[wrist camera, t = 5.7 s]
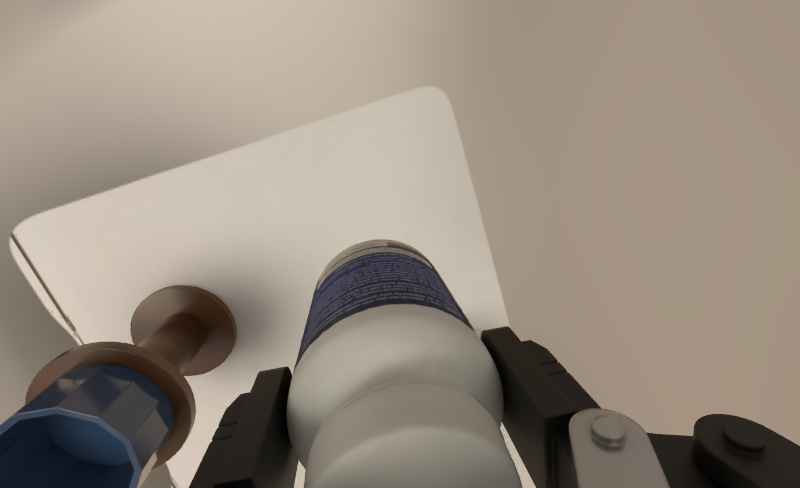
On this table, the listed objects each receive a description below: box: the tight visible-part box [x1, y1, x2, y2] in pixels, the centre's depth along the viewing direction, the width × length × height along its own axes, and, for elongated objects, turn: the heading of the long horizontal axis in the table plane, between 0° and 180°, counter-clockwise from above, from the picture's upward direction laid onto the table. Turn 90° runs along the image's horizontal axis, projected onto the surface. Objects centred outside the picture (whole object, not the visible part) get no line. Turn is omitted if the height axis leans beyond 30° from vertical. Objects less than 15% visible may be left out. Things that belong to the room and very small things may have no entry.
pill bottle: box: [286, 240, 522, 488], centre depth 11 cm, size 5×5×10 cm
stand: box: [25, 286, 236, 469], centre depth 36 cm, size 12×12×14 cm
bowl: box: [0, 364, 174, 488], centre depth 27 cm, size 9×9×5 cm
